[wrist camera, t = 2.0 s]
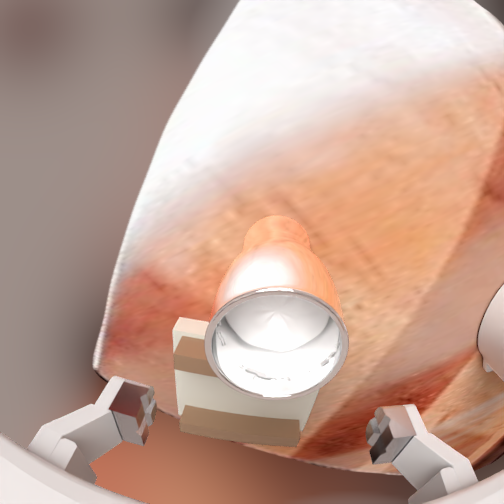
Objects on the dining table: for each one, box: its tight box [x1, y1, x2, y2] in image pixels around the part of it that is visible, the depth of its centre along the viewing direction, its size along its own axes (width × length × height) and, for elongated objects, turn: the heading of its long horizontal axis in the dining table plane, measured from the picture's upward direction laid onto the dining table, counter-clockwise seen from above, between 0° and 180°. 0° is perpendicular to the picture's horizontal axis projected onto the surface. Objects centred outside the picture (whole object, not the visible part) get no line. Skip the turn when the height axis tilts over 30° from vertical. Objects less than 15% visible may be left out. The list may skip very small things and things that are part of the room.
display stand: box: [173, 317, 321, 447], centre depth 29 cm, size 16×14×6 cm
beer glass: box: [204, 215, 349, 400], centre depth 19 cm, size 7×7×15 cm
